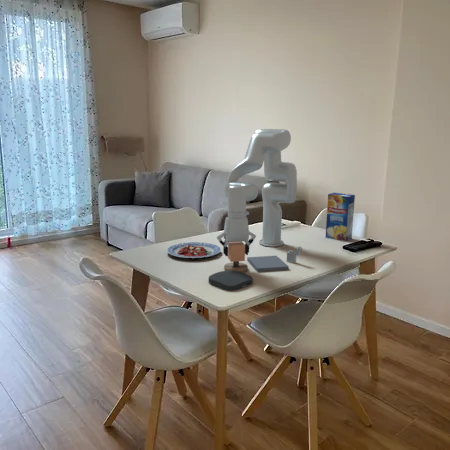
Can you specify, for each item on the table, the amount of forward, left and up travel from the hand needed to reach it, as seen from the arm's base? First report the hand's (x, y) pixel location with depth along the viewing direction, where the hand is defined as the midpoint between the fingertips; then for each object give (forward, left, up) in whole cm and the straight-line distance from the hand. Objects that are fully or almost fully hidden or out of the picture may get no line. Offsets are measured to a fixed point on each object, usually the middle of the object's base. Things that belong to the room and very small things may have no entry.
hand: (236, 254), depth 193 cm
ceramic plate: (-27, -14, -7) cm, 31 cm away
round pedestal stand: (0, 0, -7) cm, 7 cm away
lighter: (-4, +28, -7) cm, 29 cm away
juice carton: (-40, +68, -7) cm, 79 cm away
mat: (-3, +15, -7) cm, 17 cm away
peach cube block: (0, 0, -2) cm, 2 cm away
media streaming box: (+15, -6, -7) cm, 18 cm away
